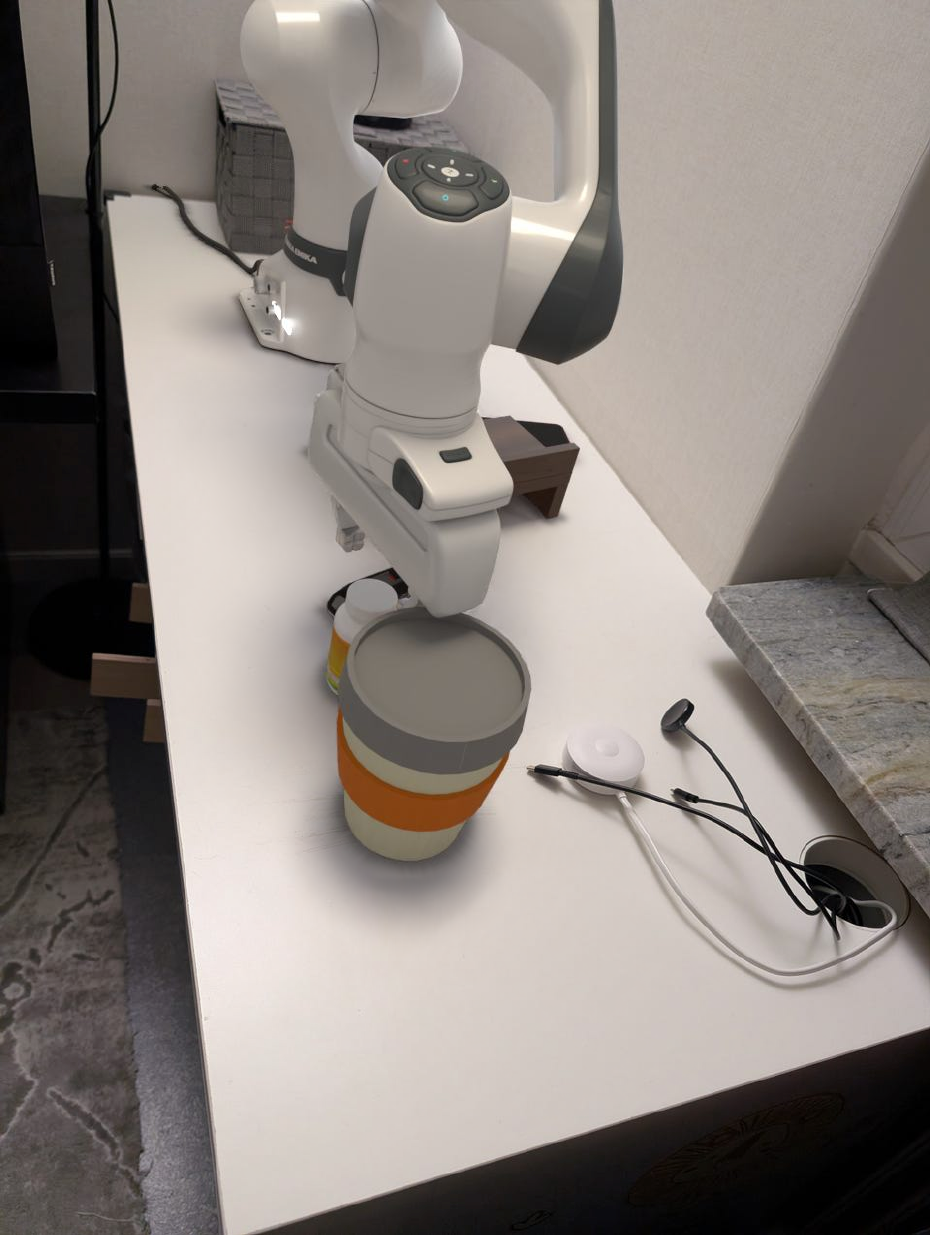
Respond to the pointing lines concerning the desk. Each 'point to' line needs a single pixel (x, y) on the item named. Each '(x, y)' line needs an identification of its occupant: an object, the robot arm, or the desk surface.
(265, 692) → the desk surface
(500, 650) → the reusable coffee cup
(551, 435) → the smartphone
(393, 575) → the electric trimmer
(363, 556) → the desk surface
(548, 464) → the shelf
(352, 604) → the supplement bottle
